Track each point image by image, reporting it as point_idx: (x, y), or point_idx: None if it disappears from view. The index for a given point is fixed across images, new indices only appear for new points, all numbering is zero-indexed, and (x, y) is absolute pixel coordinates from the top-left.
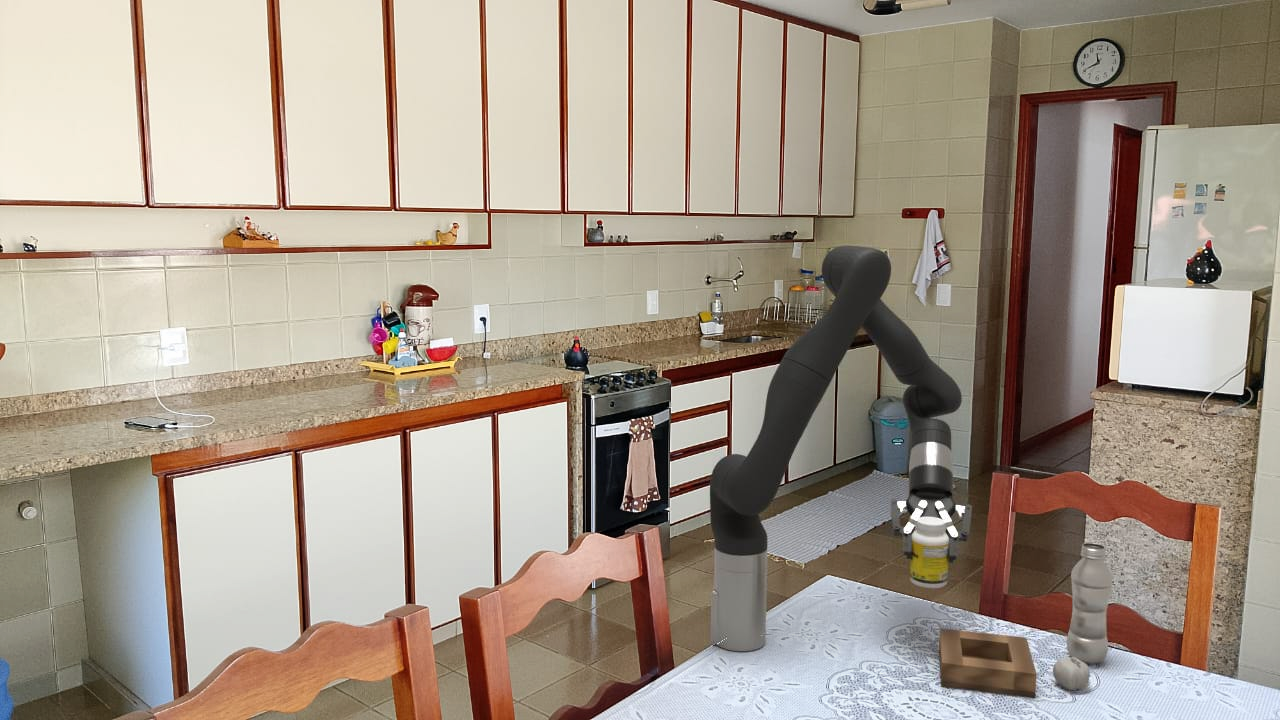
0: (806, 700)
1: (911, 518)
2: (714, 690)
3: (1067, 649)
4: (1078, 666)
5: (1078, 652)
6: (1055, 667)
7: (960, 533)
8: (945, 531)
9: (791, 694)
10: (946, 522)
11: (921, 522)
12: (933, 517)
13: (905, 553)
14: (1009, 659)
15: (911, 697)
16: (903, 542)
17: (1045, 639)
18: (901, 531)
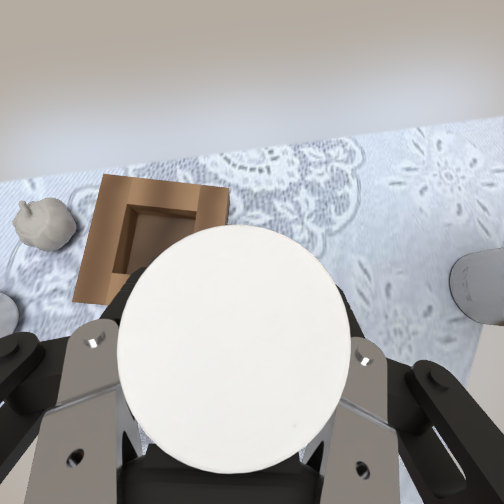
0: (376, 150)
1: (385, 431)
2: (470, 157)
3: (14, 322)
4: (29, 205)
5: (1, 296)
6: (64, 220)
7: (50, 361)
8: (134, 422)
9: (393, 160)
10: (100, 403)
11: (317, 272)
12: (201, 447)
13: None
14: (125, 245)
15: (266, 172)
16: (351, 312)
17: None
18: (387, 365)
